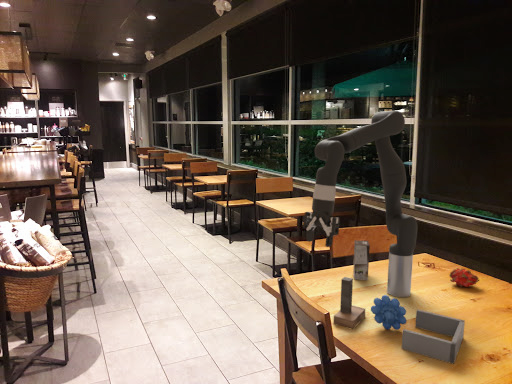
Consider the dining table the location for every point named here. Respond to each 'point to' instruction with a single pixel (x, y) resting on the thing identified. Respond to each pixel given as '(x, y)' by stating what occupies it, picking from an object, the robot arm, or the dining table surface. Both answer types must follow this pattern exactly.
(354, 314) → the post on wooden base
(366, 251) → the coffee box
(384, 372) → the dining table surface
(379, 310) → the grapes
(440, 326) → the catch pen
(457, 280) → the dragon fruit
